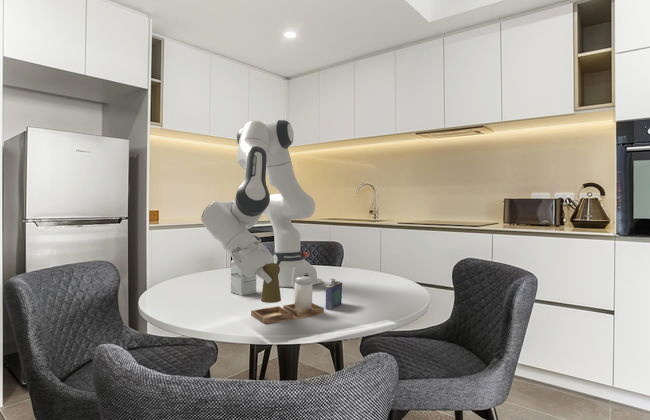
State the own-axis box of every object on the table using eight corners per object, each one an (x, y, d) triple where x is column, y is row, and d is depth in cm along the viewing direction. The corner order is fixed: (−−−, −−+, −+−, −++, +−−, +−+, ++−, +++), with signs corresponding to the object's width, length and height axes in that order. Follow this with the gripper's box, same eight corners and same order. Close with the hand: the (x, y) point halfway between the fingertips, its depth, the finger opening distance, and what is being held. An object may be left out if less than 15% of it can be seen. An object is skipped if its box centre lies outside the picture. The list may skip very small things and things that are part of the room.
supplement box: (230, 292, 157) (230, 260, 156) (245, 289, 162) (245, 258, 162) (241, 296, 152) (241, 262, 151) (256, 292, 157) (257, 260, 157)
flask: (330, 314, 128) (330, 281, 128) (322, 313, 130) (322, 280, 129) (343, 308, 136) (343, 276, 136) (335, 306, 138) (335, 275, 137)
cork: (284, 299, 122) (285, 263, 122) (274, 303, 116) (274, 266, 116) (267, 296, 124) (268, 261, 124) (256, 301, 119) (257, 264, 119)
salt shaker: (306, 307, 130) (306, 275, 130) (315, 312, 126) (315, 278, 125) (291, 310, 127) (291, 277, 127) (300, 314, 123) (300, 280, 122)
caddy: (307, 309, 134) (307, 300, 134) (325, 318, 125) (325, 308, 125) (249, 319, 123) (249, 309, 123) (265, 329, 114) (265, 319, 113)
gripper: (236, 242, 111) (270, 279, 109) (259, 236, 131) (288, 267, 130) (221, 258, 111) (254, 294, 110) (246, 249, 132) (275, 280, 130)
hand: (273, 279), depth 120 cm, fingers closed on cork, 4 cm apart
